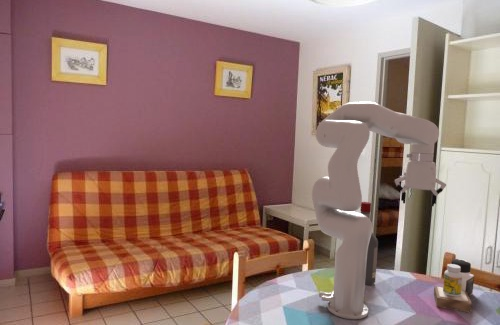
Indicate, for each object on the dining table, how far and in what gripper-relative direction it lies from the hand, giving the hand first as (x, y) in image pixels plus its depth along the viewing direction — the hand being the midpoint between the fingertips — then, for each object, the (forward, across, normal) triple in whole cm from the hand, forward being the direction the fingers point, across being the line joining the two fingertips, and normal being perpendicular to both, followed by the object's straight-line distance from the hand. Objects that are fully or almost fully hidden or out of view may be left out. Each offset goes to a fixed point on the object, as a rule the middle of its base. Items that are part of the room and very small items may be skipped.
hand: (418, 204), depth 143 cm
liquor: (+31, -18, -6) cm, 36 cm away
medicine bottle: (+31, +15, -2) cm, 34 cm away
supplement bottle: (+27, +12, -12) cm, 32 cm away
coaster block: (+30, +12, -12) cm, 35 cm away
